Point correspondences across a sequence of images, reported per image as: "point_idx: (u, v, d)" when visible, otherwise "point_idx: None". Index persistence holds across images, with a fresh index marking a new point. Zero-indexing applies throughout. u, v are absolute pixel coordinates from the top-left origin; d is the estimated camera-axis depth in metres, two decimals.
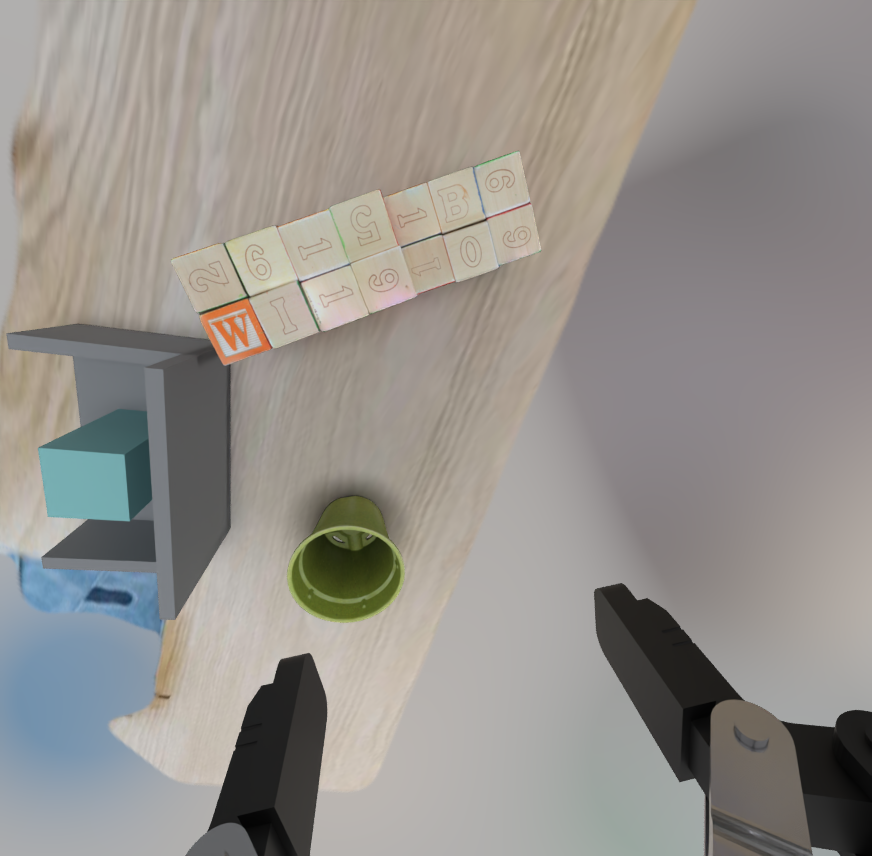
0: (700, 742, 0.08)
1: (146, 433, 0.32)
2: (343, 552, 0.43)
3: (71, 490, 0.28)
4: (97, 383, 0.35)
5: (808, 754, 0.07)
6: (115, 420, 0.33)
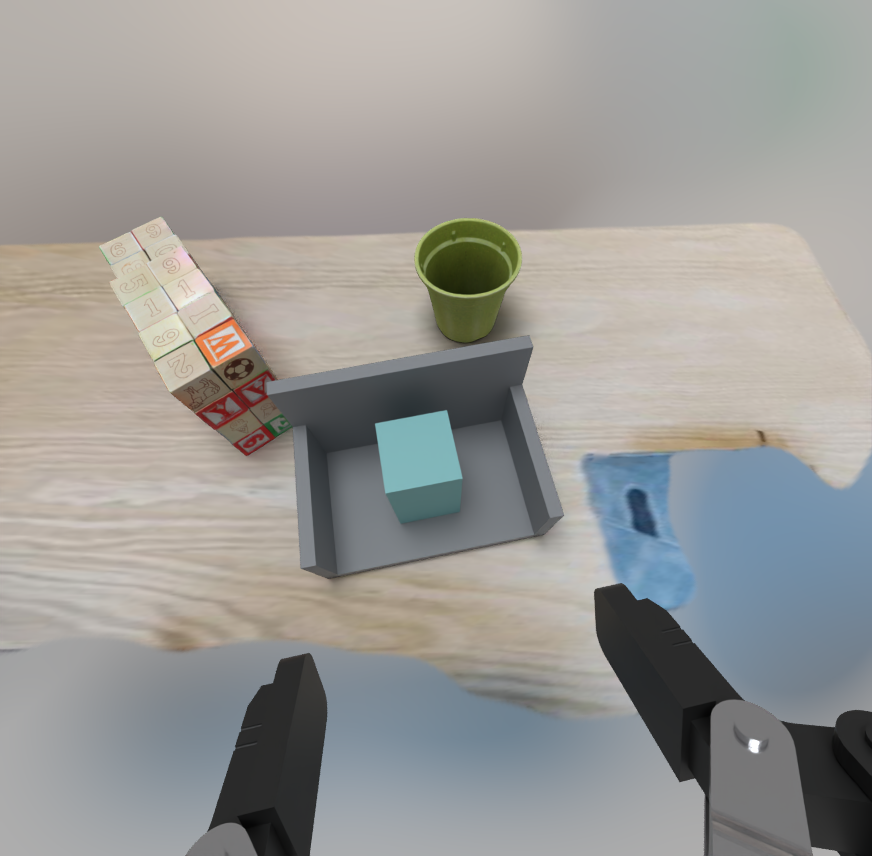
0: (700, 742, 0.08)
1: None
2: None
3: (426, 460, 0.28)
4: (378, 545, 0.35)
5: (808, 754, 0.07)
6: None
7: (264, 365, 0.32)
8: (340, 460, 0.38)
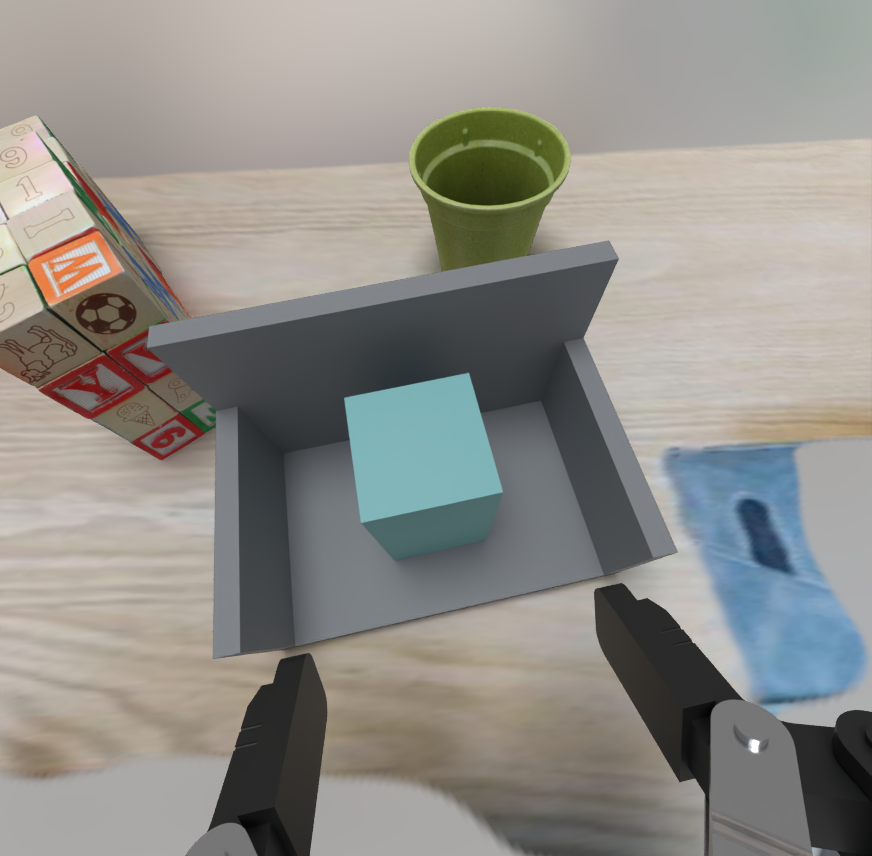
0: (700, 742, 0.08)
1: None
2: None
3: (434, 461, 0.15)
4: (360, 596, 0.22)
5: (808, 754, 0.07)
6: None
7: (157, 311, 0.20)
8: (303, 464, 0.25)
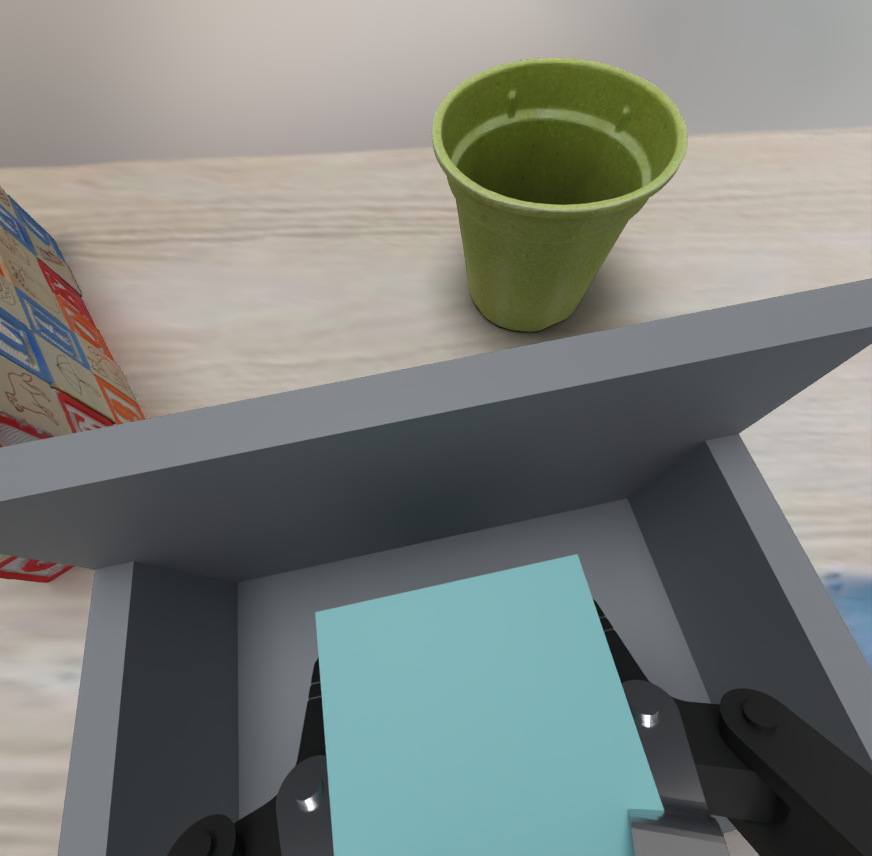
0: None
1: None
2: None
3: (521, 804, 0.07)
4: None
5: (696, 728, 0.08)
6: None
7: None
8: (268, 601, 0.16)
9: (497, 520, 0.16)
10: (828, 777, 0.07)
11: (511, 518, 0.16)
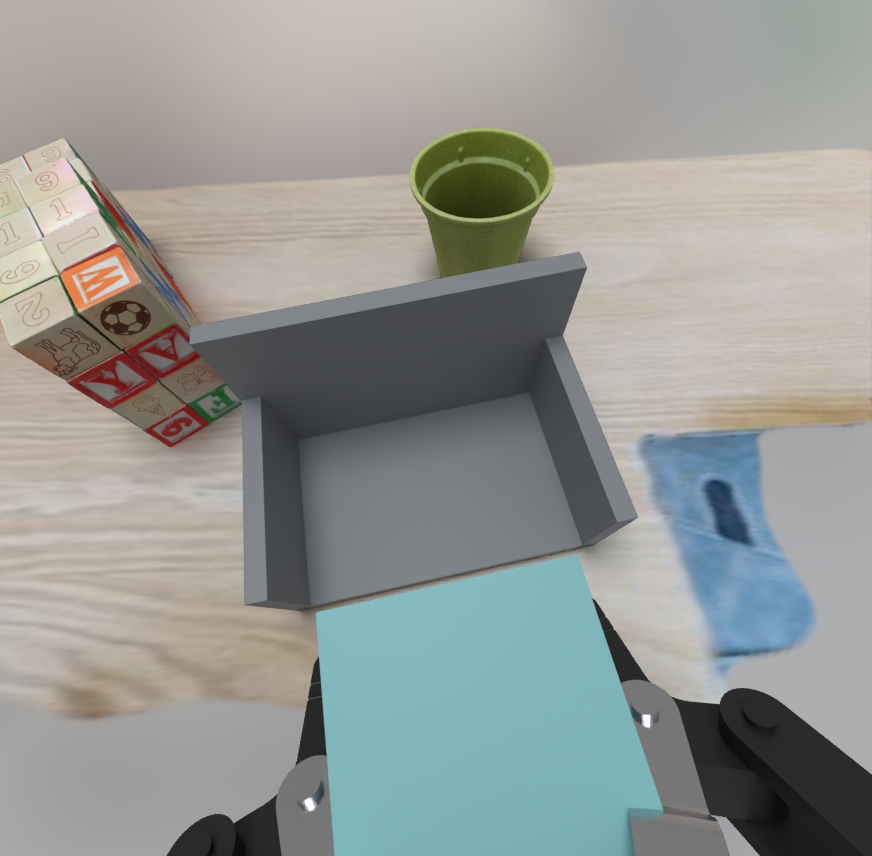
0: None
1: None
2: None
3: (521, 804, 0.07)
4: (367, 564, 0.25)
5: (696, 728, 0.08)
6: None
7: (168, 315, 0.23)
8: (316, 449, 0.28)
9: (448, 400, 0.28)
10: (828, 777, 0.07)
11: (457, 400, 0.28)
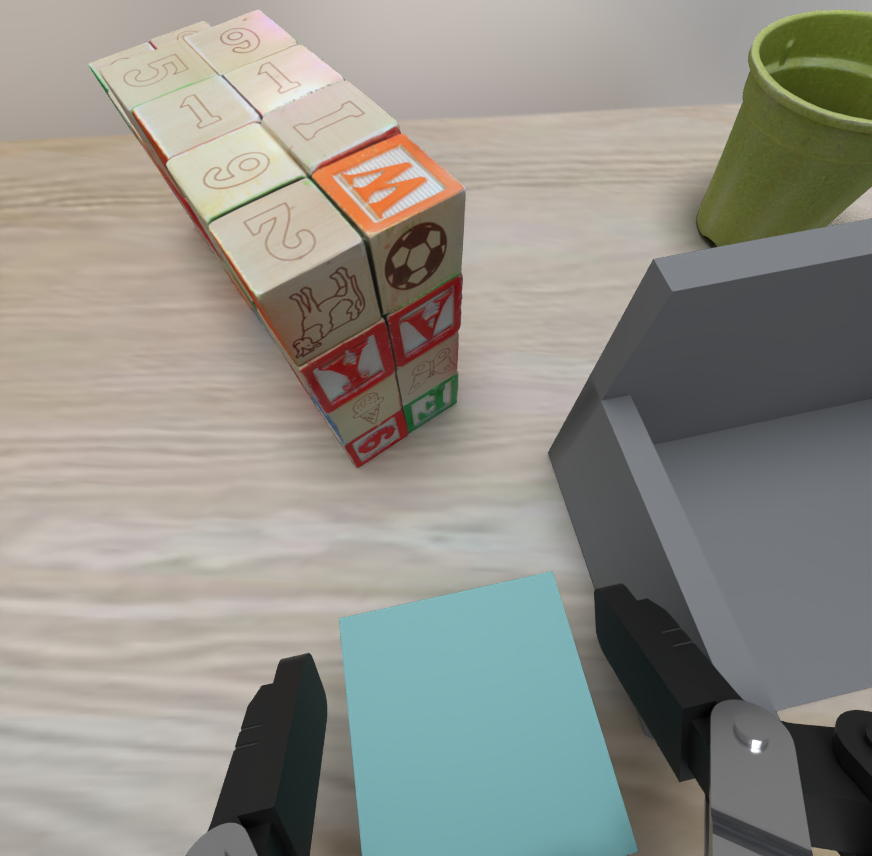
0: (700, 742, 0.08)
1: None
2: None
3: (504, 769, 0.08)
4: (753, 661, 0.16)
5: (808, 754, 0.07)
6: None
7: (460, 260, 0.13)
8: None
9: (813, 403, 0.19)
10: None
11: (822, 402, 0.19)
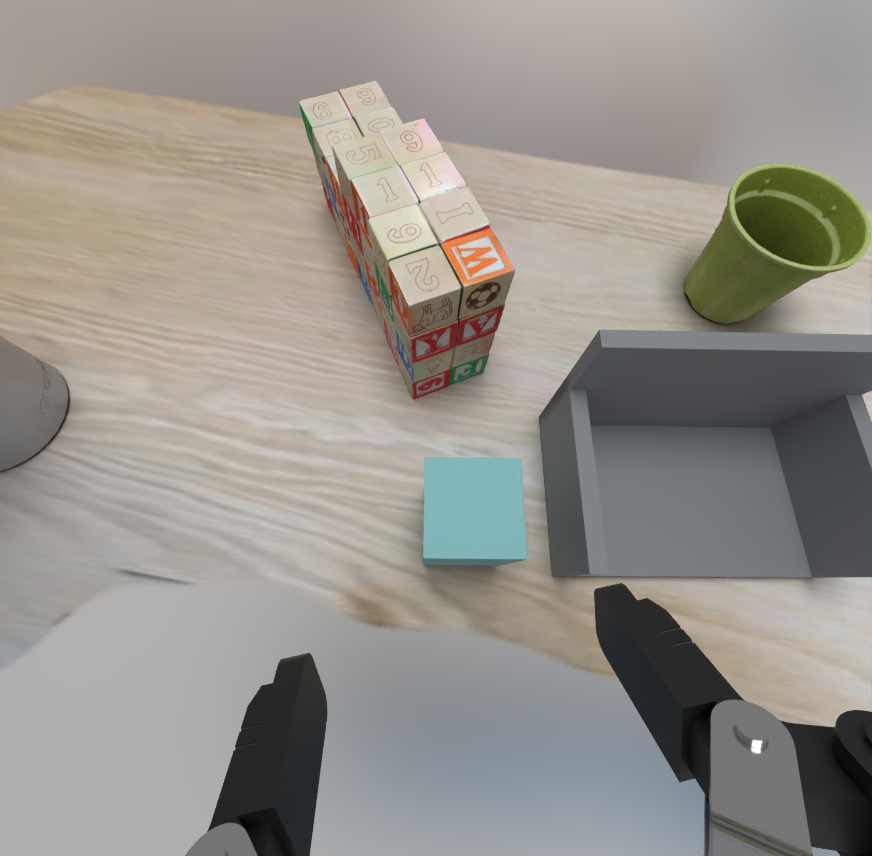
0: (700, 742, 0.08)
1: None
2: None
3: (483, 524, 0.21)
4: (621, 551, 0.28)
5: (808, 754, 0.07)
6: None
7: (505, 298, 0.25)
8: None
9: (706, 421, 0.30)
10: None
11: (712, 422, 0.31)
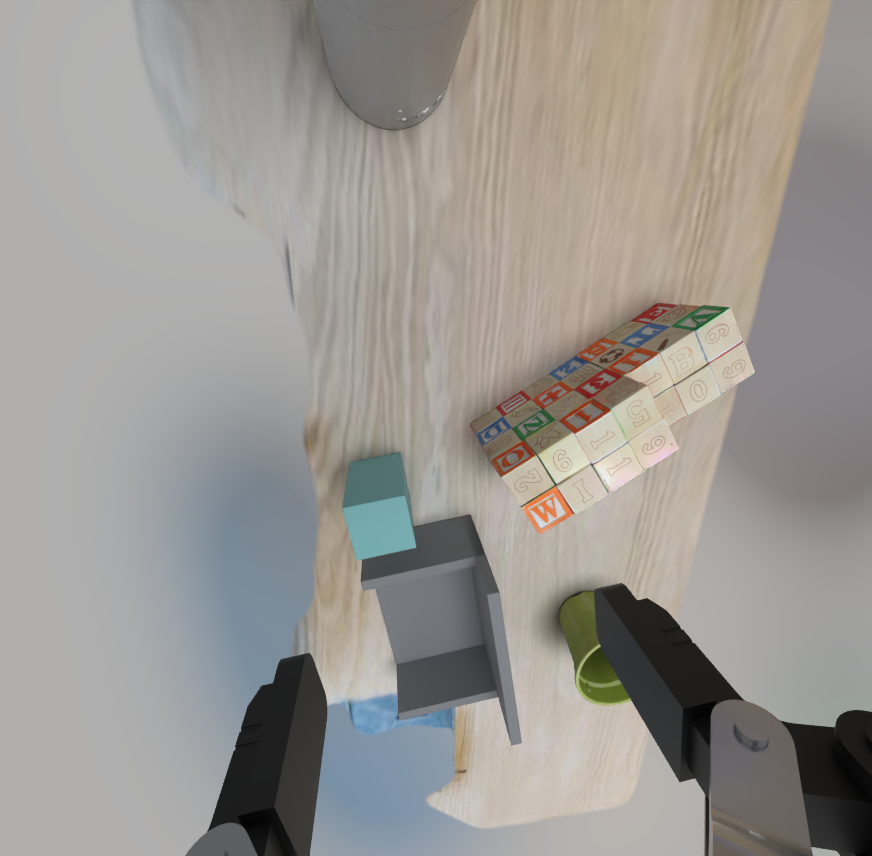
0: (700, 742, 0.08)
1: (396, 474, 0.38)
2: None
3: (370, 535, 0.35)
4: None
5: (808, 754, 0.07)
6: (361, 471, 0.39)
7: None
8: None
9: (479, 614, 0.47)
10: None
11: (480, 617, 0.48)
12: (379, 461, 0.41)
